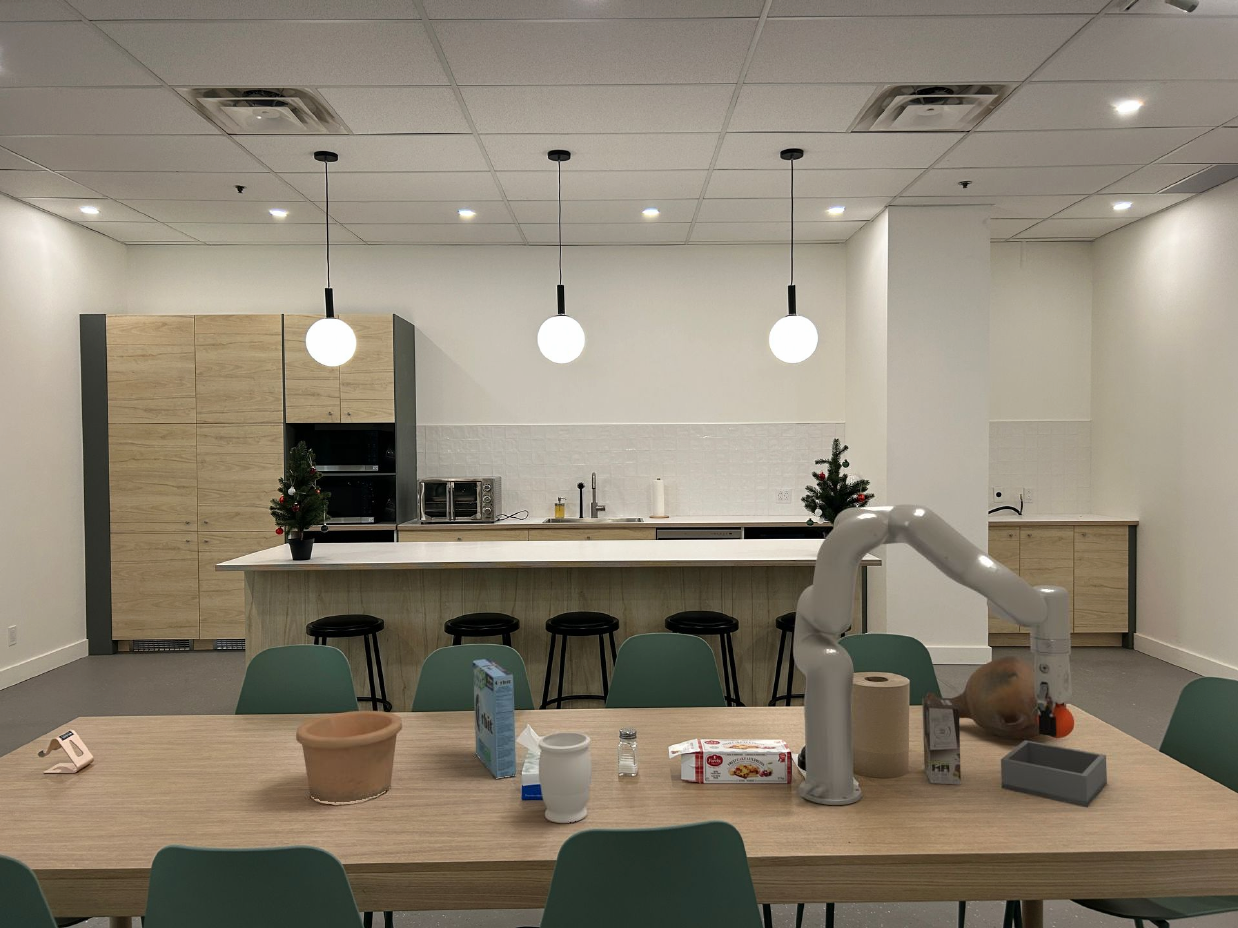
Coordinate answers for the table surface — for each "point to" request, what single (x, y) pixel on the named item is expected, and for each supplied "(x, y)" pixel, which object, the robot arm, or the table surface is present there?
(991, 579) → the robot arm
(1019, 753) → the bin
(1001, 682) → the jug
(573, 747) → the jar
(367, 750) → the pottery
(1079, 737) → the table surface
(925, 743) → the coffee box
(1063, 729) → the clementine
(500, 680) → the gum box
